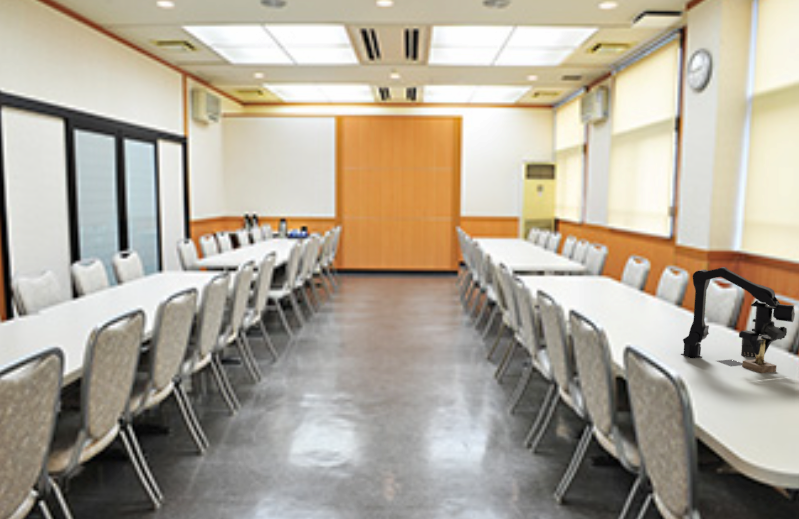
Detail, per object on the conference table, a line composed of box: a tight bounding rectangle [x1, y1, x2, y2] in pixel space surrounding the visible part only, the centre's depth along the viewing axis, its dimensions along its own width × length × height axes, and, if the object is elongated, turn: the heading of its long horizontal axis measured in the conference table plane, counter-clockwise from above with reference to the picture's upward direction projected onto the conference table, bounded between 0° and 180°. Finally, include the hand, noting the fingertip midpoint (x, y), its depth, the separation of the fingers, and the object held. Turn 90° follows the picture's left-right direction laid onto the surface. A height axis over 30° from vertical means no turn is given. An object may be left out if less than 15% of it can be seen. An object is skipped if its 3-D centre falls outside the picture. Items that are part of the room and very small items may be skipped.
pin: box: [754, 339, 766, 364], centre depth 238 cm, size 3×3×10 cm
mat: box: [716, 359, 743, 367], centre depth 247 cm, size 9×8×1 cm
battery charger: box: [740, 338, 756, 359], centre depth 257 cm, size 7×4×11 cm, turn 68°
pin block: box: [741, 359, 777, 374], centre depth 239 cm, size 8×9×3 cm
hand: (760, 354), depth 238 cm, fingers closed on pin, 3 cm apart
